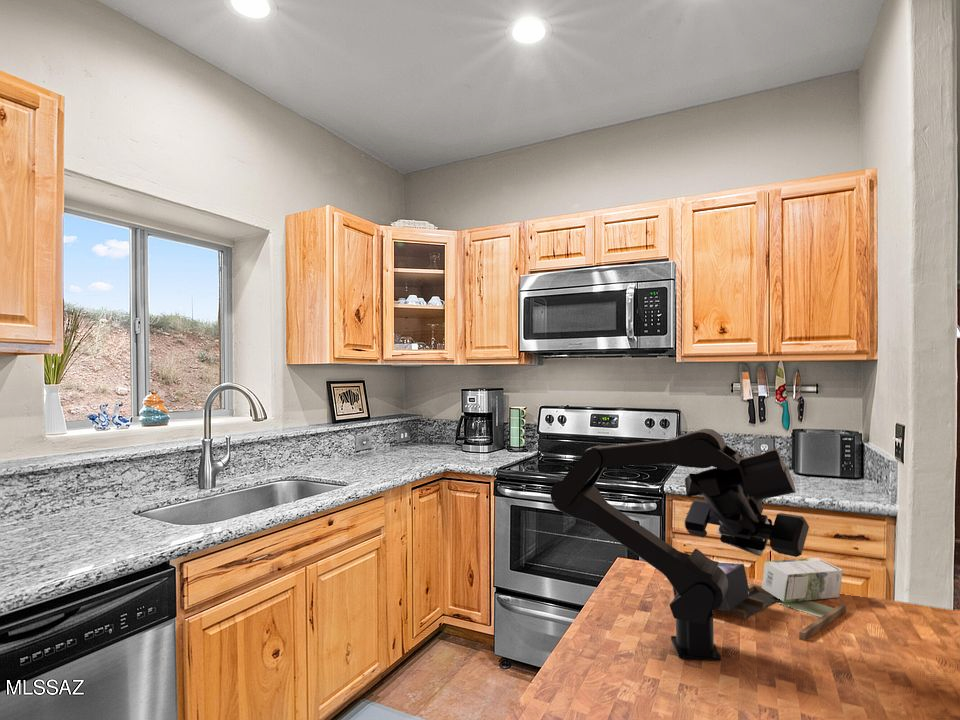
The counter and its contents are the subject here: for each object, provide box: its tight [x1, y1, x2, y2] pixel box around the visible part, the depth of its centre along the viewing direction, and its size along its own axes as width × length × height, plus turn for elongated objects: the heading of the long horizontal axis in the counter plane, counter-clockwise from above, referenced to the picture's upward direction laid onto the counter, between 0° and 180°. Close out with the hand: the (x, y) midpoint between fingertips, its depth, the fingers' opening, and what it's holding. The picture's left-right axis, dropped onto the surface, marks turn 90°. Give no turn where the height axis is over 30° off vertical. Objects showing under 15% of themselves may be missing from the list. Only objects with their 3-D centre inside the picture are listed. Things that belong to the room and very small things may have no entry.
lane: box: [716, 583, 847, 642], centre depth 103 cm, size 18×16×1 cm
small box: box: [672, 562, 750, 611], centre depth 106 cm, size 11×6×10 cm
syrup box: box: [761, 557, 844, 602], centre depth 109 cm, size 6×6×14 cm
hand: (759, 553), depth 95 cm, fingers closed
